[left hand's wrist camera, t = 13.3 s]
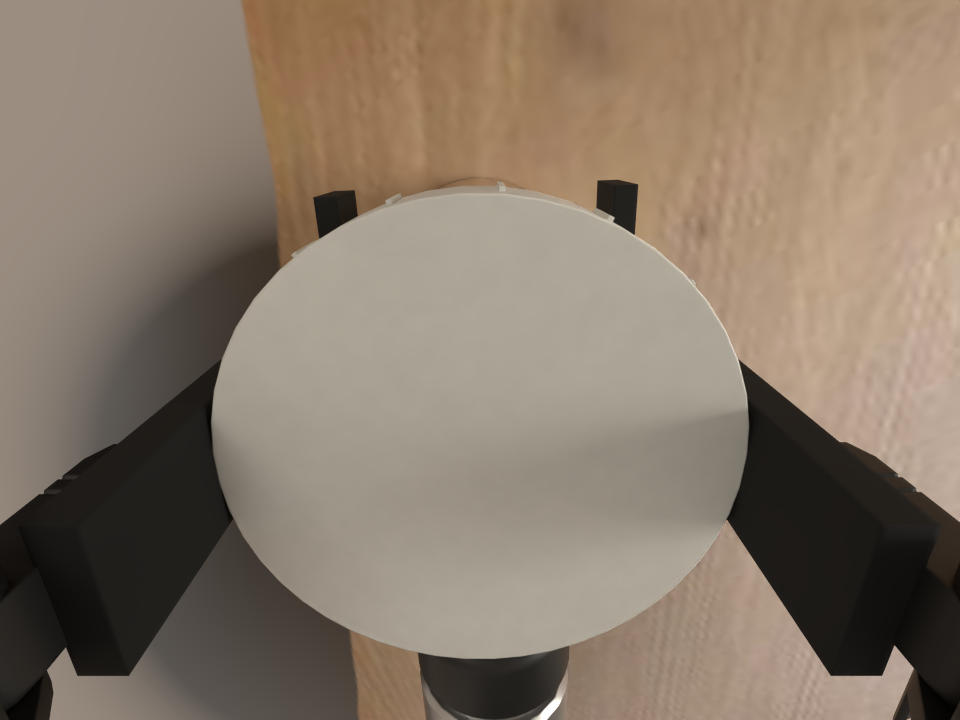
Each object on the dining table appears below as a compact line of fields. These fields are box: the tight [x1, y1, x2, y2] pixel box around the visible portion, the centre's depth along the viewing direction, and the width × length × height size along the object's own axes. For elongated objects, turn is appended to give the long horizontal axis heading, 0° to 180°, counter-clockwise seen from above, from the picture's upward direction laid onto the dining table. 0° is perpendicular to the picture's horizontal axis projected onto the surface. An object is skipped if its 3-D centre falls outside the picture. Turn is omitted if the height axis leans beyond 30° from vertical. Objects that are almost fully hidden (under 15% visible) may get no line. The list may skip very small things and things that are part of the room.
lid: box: [211, 182, 749, 659], centre depth 11 cm, size 10×10×2 cm
